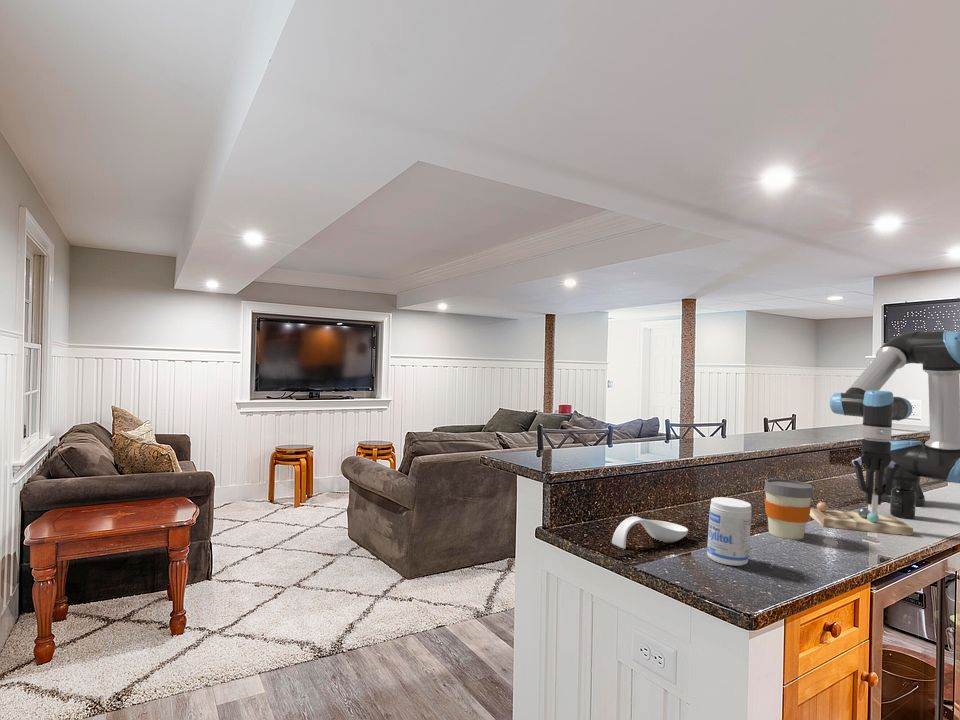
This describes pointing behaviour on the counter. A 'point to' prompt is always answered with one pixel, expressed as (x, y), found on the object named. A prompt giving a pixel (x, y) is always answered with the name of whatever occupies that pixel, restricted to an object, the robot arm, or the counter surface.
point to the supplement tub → (729, 531)
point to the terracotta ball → (822, 506)
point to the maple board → (860, 522)
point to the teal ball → (872, 517)
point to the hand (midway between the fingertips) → (872, 514)
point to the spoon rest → (649, 530)
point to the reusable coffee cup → (787, 507)
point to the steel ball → (863, 512)
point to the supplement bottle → (903, 500)
